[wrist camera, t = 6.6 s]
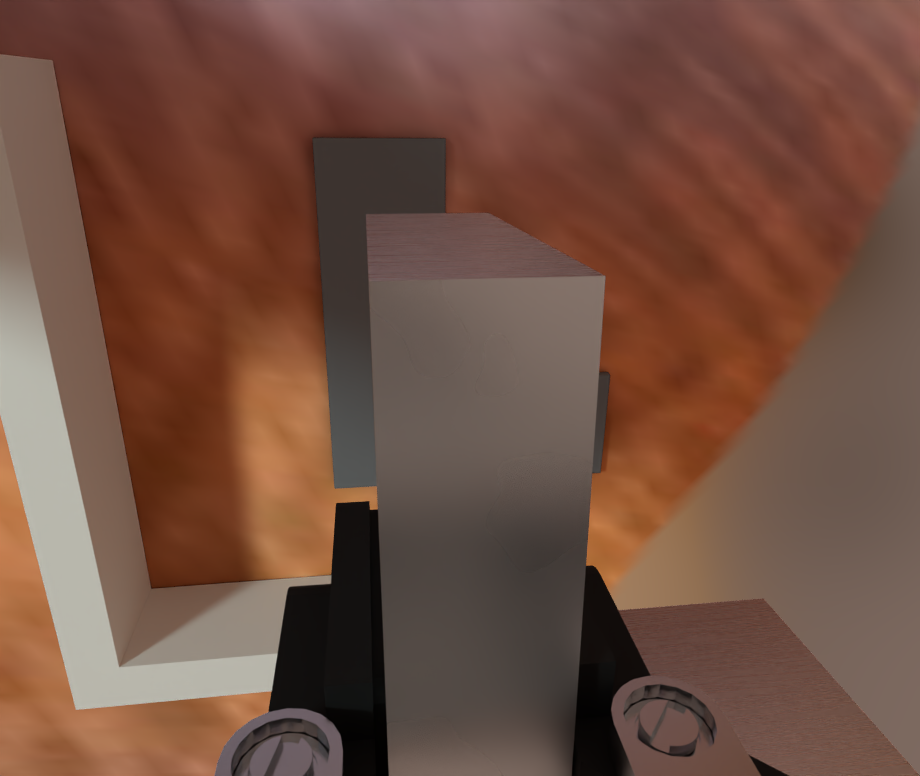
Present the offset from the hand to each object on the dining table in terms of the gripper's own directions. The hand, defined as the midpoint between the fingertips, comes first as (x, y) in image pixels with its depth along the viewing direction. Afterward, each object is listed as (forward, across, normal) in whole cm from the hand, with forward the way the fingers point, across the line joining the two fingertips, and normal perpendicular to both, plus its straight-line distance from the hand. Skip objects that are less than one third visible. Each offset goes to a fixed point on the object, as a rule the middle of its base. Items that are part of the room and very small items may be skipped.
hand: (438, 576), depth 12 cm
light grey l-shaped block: (+13, +4, +2) cm, 14 cm away
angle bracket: (+2, -3, -1) cm, 4 cm away
